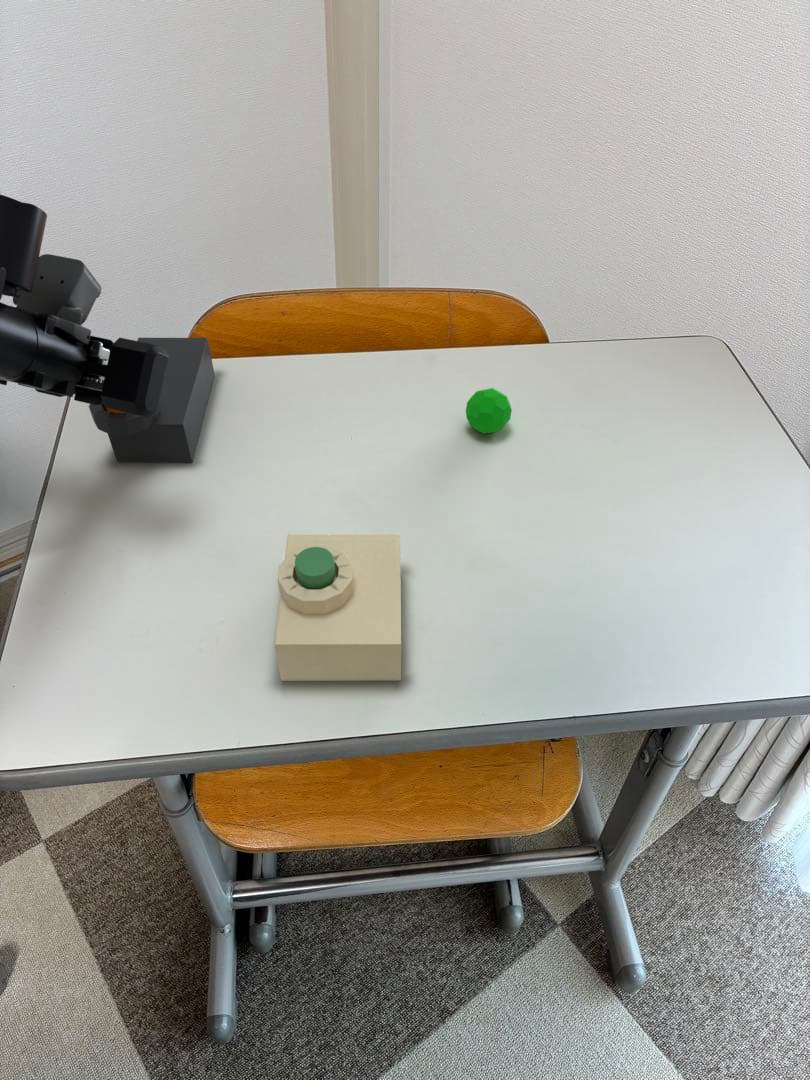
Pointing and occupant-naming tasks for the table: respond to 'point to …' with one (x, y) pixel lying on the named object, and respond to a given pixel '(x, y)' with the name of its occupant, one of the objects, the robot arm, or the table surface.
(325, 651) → the box
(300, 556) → the power button
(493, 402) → the polyhedron
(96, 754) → the table surface
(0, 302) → the robot arm
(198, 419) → the dark gray block
